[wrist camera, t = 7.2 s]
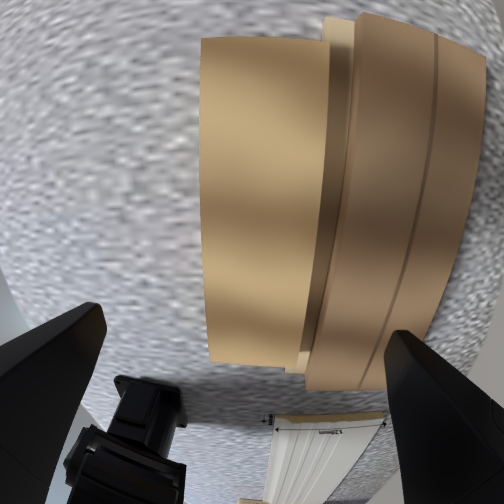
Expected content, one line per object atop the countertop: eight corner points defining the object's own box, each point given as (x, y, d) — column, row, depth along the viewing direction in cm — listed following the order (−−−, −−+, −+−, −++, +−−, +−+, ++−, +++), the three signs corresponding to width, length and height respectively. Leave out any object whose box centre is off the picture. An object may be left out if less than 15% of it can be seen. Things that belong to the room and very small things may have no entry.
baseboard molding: (254, 497, 39) (322, 496, 38) (253, 510, 36) (323, 509, 35) (259, 408, 25) (382, 405, 24) (258, 434, 23) (388, 428, 22)
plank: (294, 338, 20) (296, 367, 18) (216, 333, 21) (209, 361, 18) (320, 54, 13) (329, 42, 10) (213, 50, 13) (201, 38, 10)
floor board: (388, 362, 21) (397, 388, 18) (285, 361, 21) (285, 390, 19) (459, 61, 11) (486, 56, 9) (322, 23, 12) (332, 5, 9)
